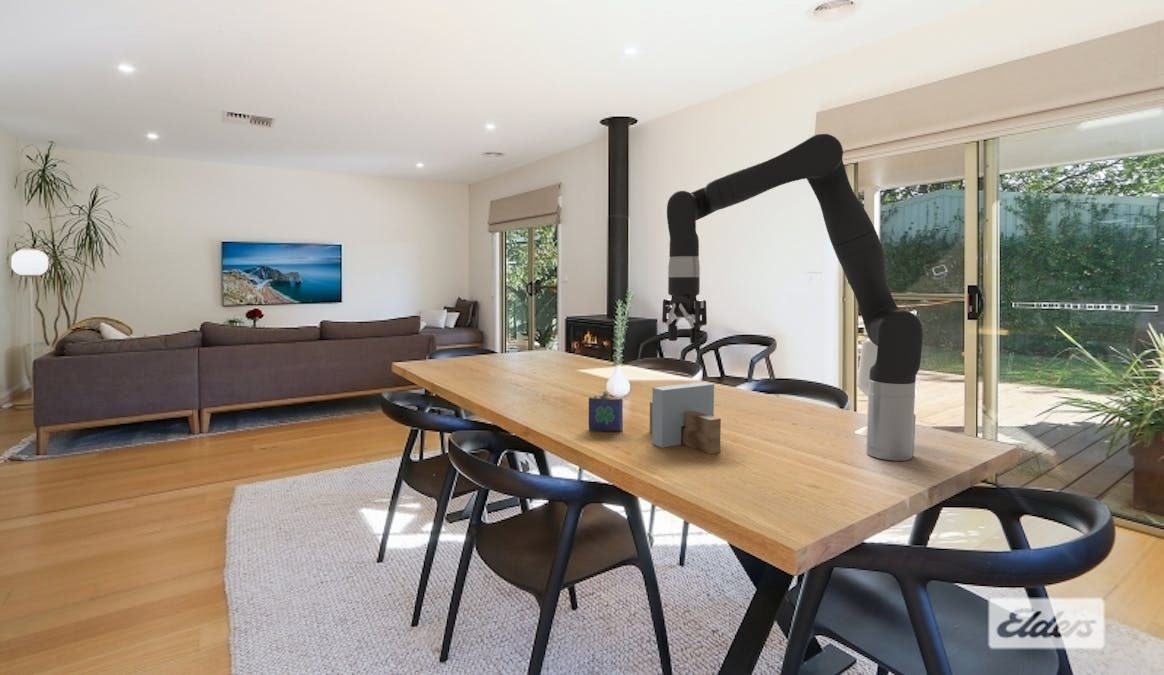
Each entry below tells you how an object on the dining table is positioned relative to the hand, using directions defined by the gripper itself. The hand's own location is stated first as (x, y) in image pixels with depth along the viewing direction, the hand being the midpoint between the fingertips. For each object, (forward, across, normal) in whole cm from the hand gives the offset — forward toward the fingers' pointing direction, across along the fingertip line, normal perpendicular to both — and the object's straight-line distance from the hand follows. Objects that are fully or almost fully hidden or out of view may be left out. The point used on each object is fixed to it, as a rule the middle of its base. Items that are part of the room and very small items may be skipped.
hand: (683, 342), depth 146 cm
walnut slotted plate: (+25, 0, 0) cm, 25 cm away
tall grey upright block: (+25, 0, 0) cm, 25 cm away
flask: (+25, +19, +11) cm, 33 cm away
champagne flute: (+25, -18, -47) cm, 56 cm away
